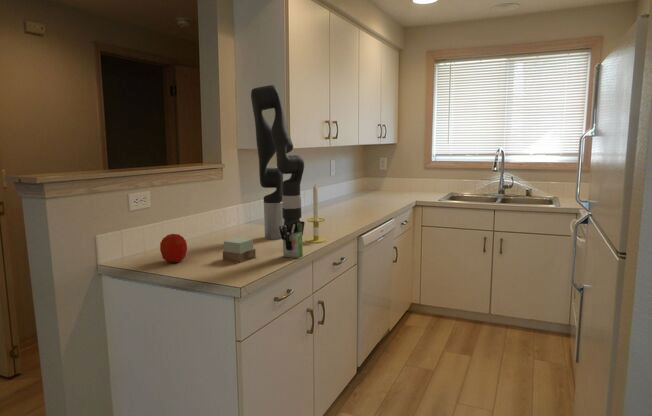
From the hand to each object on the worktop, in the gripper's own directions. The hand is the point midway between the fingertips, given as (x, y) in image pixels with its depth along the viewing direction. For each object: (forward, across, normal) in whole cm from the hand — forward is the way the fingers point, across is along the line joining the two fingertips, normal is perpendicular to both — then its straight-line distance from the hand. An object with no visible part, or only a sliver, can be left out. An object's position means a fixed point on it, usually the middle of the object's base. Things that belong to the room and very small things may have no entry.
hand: (292, 248), depth 184 cm
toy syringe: (+3, -29, -9) cm, 31 cm away
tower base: (+4, +14, -16) cm, 21 cm away
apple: (+4, +30, -35) cm, 46 cm away
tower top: (0, +14, -16) cm, 21 cm away
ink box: (+4, 0, 0) cm, 4 cm away
